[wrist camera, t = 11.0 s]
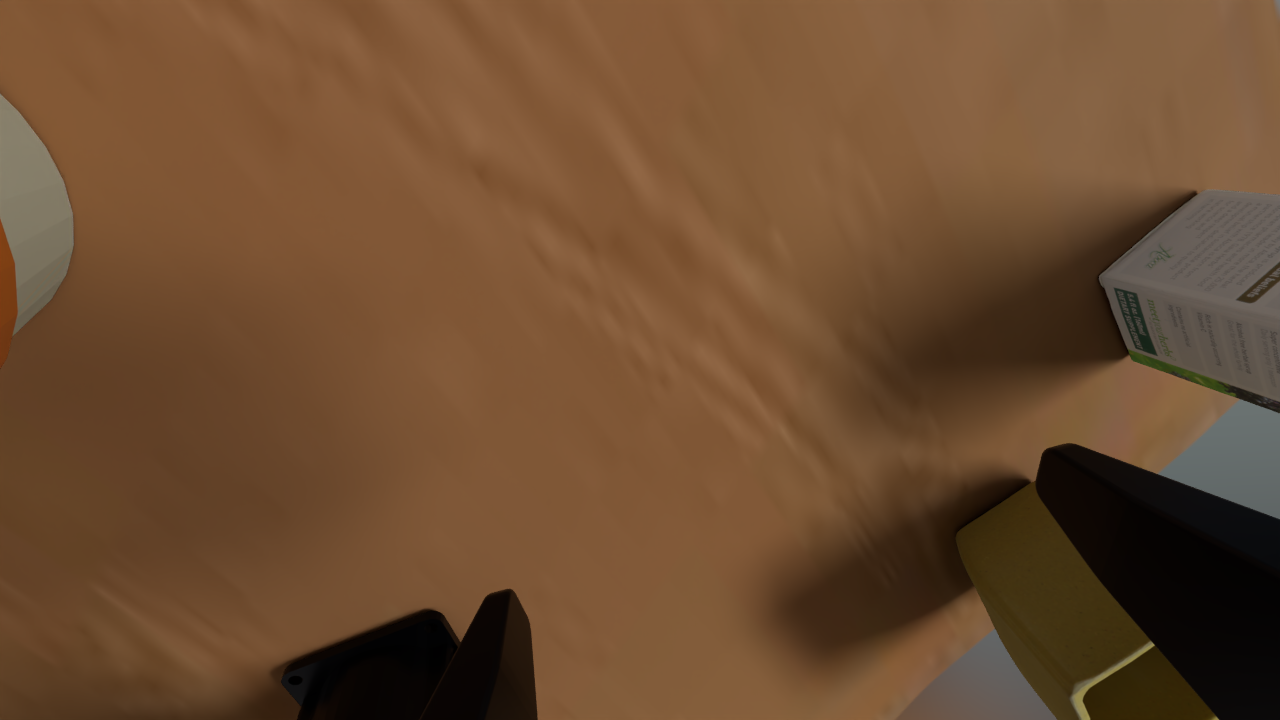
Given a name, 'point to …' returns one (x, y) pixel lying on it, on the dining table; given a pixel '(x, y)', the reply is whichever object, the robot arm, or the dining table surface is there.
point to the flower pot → (1067, 621)
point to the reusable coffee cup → (29, 225)
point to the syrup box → (1207, 295)
